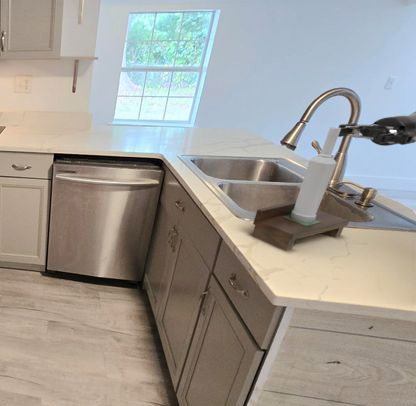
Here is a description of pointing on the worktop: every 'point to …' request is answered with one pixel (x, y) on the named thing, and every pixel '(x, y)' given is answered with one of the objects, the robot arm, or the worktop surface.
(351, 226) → the worktop surface
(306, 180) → the bottle
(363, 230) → the worktop surface
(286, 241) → the shelf
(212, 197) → the worktop surface
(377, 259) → the worktop surface
